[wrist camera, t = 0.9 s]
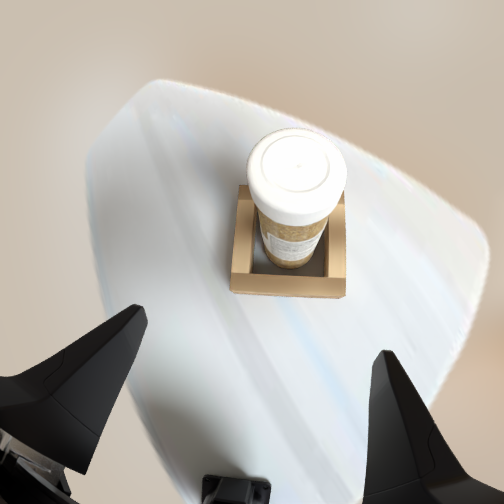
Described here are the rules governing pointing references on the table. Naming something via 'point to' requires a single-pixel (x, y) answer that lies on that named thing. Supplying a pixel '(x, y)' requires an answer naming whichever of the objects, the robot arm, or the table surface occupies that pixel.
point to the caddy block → (283, 284)
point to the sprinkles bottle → (294, 191)
